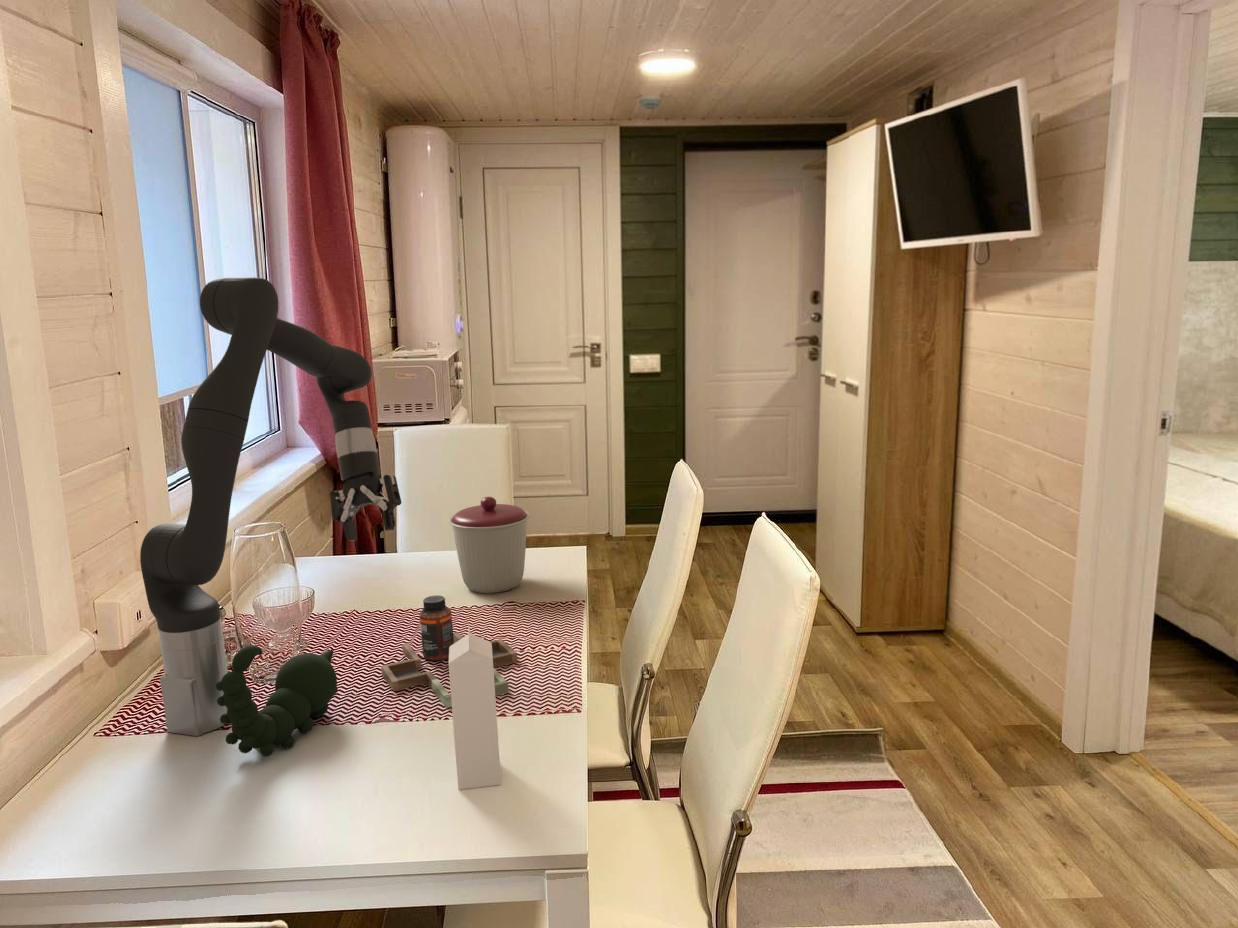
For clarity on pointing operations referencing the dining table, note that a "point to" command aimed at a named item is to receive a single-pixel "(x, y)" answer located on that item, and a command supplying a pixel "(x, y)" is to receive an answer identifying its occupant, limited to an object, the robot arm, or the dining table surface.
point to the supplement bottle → (436, 628)
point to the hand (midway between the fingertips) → (371, 535)
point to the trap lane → (409, 676)
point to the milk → (474, 712)
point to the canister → (491, 545)
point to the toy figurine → (276, 700)
